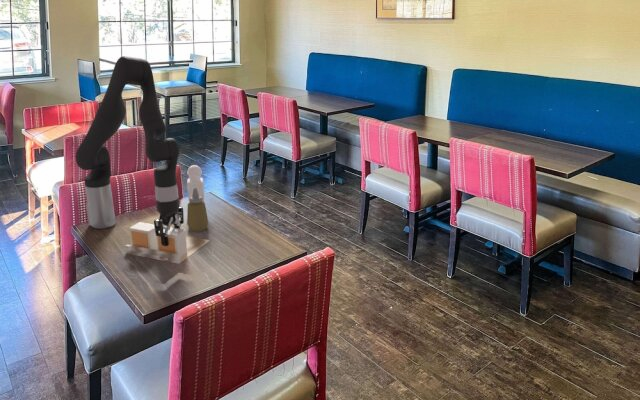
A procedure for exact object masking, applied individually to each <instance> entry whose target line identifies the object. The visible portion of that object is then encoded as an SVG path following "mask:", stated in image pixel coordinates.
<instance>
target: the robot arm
mask: <svg viewBox="0 0 640 400" xmlns="http://www.w3.org/2000/svg"><path fill="white" fill-rule="evenodd" d="M127 85H131V86H140V89H141V91H142V95H143V96H142V99H141V103H140V106H139V111H138V115H139V121H140V123H141V126H142V128H143V132H144V136H145V137H144V139H145V154H146V157H147V158H148V160H150V161H151V162H154V163H155V162H157V163H158V162H163V161H165V163H163V164H161V165H160V166H157V167H155V169H154V170H153V177H154V195H155V205H156V211H157V212H158V213H159V218H158V219H154V220H153V224H154V227H155V233H156V236H160V237H161V244H162V245H163V246H168V236H167V234H168V230H170V227H172V226H173V227H172V228H178V229H181V227H182V224H184V223H185V221H184V208H183V207H180V197H179V189H178V183H177V165H178V160H179V155H180V145H179V143H178V141H177V140H176V139H175V138H173V137H167V138H162V139H161V138H160V137H162V136H163V135H165V134H166V131H167V127H166V124H165V121H164V118H163V115H162V113H161V110H160V106H159V102H158V96H157V91H156V85H155V80H154V75H153V70H152V67H151V64H150V63H149V61H148V60H146V59H145V58H139V57H134V56H129V55H128V56H127V55H124V56H123V55H122V56H120V57H119V58H118V59H117V60H116V62H115V65H114V67H113V69H112V74H111V76H110V79H109V83H108V86H107V89H106V91H105V94H104V96H103V98H102V100H101V103H100V104H99V106H98V109H97V111H96V113H95V115H94V117H93V120H92V122H91V125H89V128H88V131H87V133H86V135H85V136H84V138H83V140H82V142H80V145H79V146H78V147H77V149H76V153H75V163H76V165H77V166H78V168H79V169H80V170H81V169H82V170H84V171H90V172H89V173H88V174H87V175H86V176H85V177H84V178H83V179H84V181H83V182H84V187H85V194H86V199H87V202H86V203H85V208H86V213H87V220H88V225H89V226H90V227H92V228H93V229H99V230H100V229H101V230H102V229H108V228H111V227H113V226H114V225H115V224H117V223H116V215H115V208H114V200H113V193H112V186H111V178H112V177H111V176H112V171H111V157H110V152H109V150H108V148H107V146H106V145H105V143H106V142H108V141H109V140H110V139H111V138H112V137H113V136H114V135H115V134H116V133H117V132H118V131H119V129H120V128H121V126H122V124H123V122H124V120H125V118H126V114H127V110H126V105H125V102H124V99H123V91H124V89H125V87H126V86H127ZM157 138H160V139H157ZM166 226H167V227H166ZM164 229H165V233H164V231H163V230H164ZM159 231H160V232H159Z"/></svg>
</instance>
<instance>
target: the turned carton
mask: <svg viewBox="0 0 640 400" xmlns="http://www.w3.org/2000/svg"><path fill="white" fill-rule="evenodd" d="M165 227H167V226H165ZM163 231H164V233H165V229H164V230H163ZM159 232H160V231H159ZM167 236H168V246H163V245H162V244H161V237H160V236H157V245H158V250H159V251H164V252H169V253H174V254H180V258H181V257H182V256H184V255H185V254H186V253H187V244H186V236H187V235H186V229H184V228H183V229H182V228H180V229H178V228H173V227H172V226H170V230H168V234H167Z"/></svg>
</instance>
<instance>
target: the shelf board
mask: <svg viewBox="0 0 640 400" xmlns="http://www.w3.org/2000/svg"><path fill="white" fill-rule="evenodd" d="M210 241H211V240H209V239H205V238H201V237H200V238H199V237H196V236H195V237H193V236H189V235H188V236H187V235H186V244H187V253H186V254H185V255H184V256H182V257H181V258H180V254H174V253H169V252H164V251H159V250H154V249H149V248H143V247H138V246H133V245H131V244H125V246H124V248H125V254H128V255H133V256H137V257H144V258H148V259H154V260H159V261H163V262H168V263H173V264H181V263H182V262H184V261H185V260H186V259H188V258H189V257H190V256H191V255H193V254H195V253H196V252H197V251H198V250H199V249H201V248H202V247H203V246H204V245H206V244H207V243H209V242H210Z"/></svg>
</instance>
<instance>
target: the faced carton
mask: <svg viewBox="0 0 640 400" xmlns="http://www.w3.org/2000/svg"><path fill="white" fill-rule="evenodd" d="M128 230H129V236H130V245H133V246H138V247H143V248H149V249H154V250H158V245H157V236H156V233H155V227H154V223H147V222H142V221H139V222H136V223H135V224H134V225H132V226H130V227H129V229H128Z"/></svg>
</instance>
